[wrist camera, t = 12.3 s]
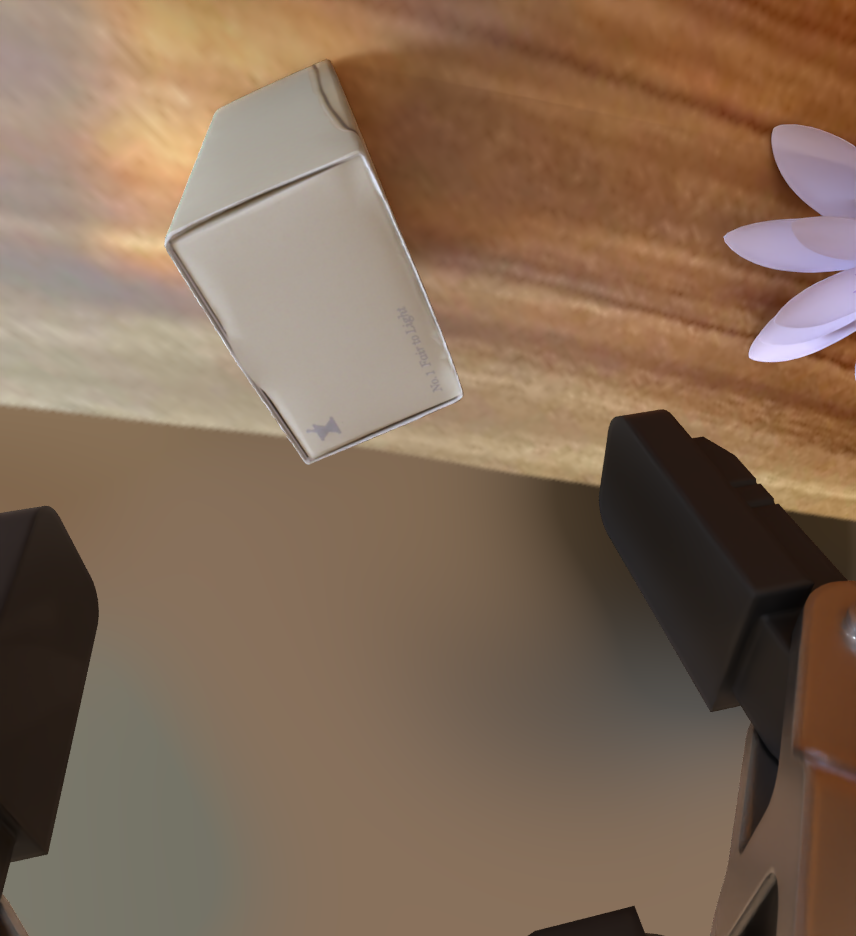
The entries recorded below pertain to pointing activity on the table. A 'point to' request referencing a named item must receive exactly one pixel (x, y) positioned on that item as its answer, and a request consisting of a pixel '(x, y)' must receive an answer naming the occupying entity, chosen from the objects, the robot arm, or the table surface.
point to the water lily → (808, 244)
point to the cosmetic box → (309, 268)
